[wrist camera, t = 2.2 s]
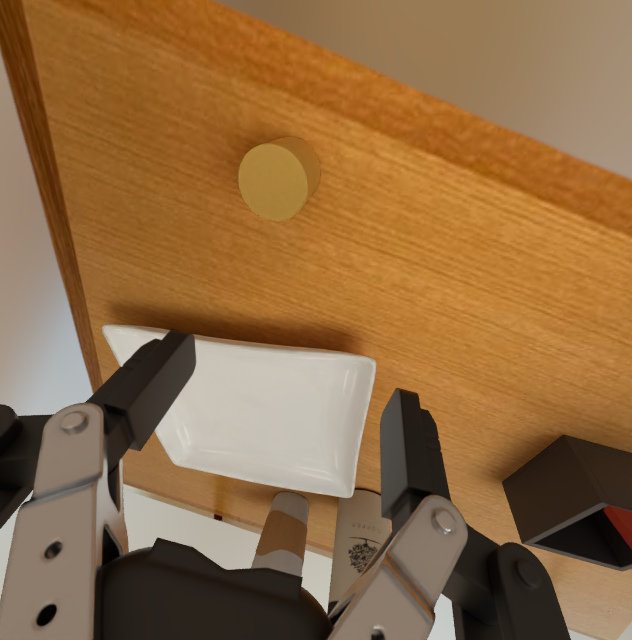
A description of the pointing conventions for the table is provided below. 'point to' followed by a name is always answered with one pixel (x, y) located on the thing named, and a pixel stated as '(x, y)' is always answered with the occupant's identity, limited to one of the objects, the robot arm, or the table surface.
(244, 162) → the mustard yellow cylinder
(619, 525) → the box lid
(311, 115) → the table surface
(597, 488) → the open box
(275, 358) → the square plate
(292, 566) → the coffee cup
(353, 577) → the travel mug
